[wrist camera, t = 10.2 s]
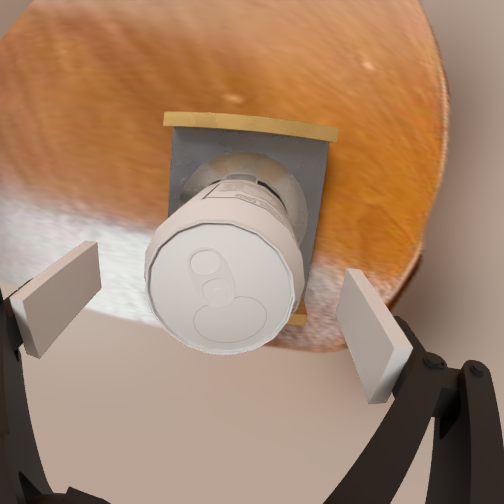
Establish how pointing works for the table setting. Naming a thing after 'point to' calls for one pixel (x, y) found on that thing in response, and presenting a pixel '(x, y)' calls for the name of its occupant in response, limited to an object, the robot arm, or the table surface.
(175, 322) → the supplement can
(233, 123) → the grey boxy piece
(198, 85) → the table surface
